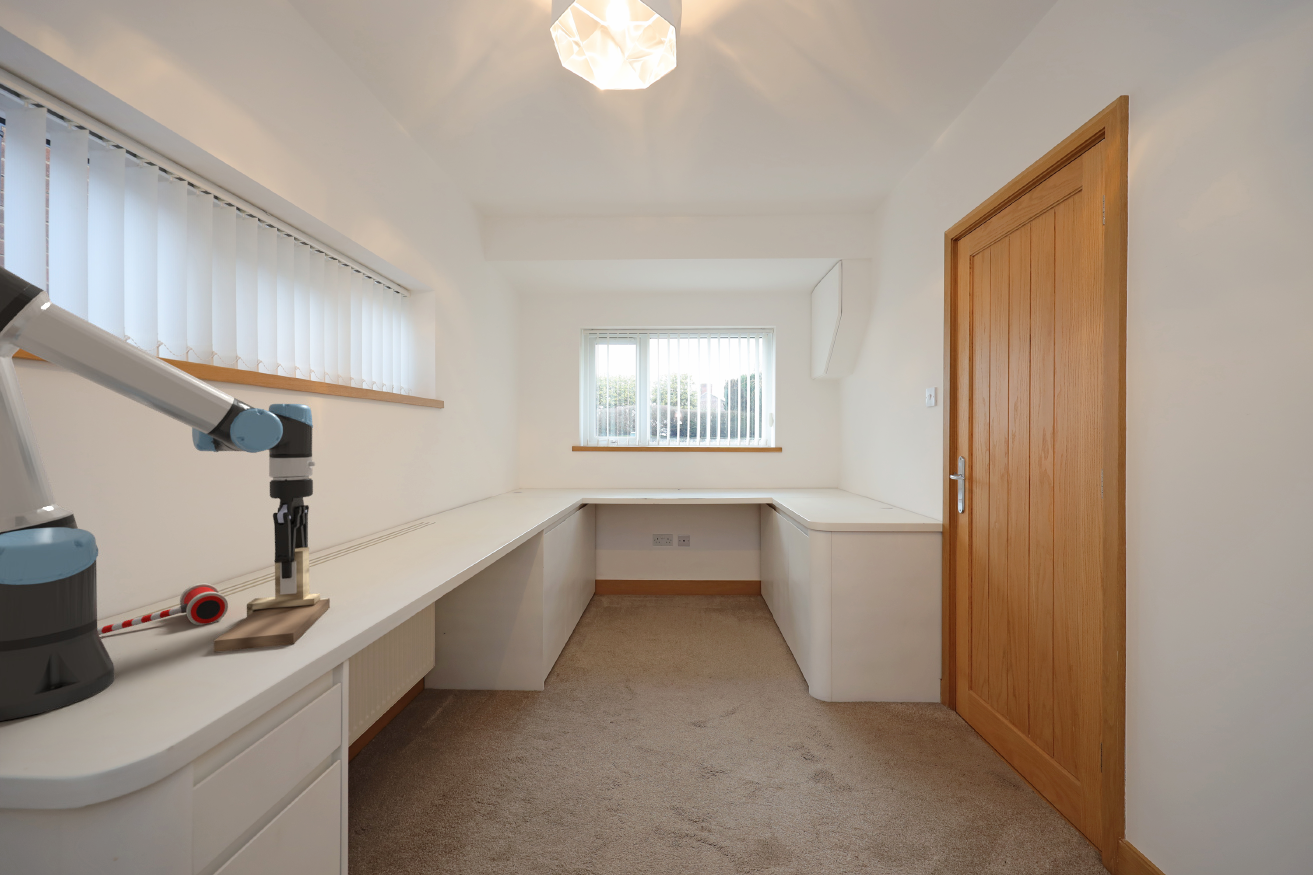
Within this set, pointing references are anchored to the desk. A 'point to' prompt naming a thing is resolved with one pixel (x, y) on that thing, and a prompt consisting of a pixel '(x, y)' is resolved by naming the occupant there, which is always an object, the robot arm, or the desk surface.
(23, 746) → the desk surface
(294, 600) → the bracket
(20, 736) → the desk surface
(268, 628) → the board
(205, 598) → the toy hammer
